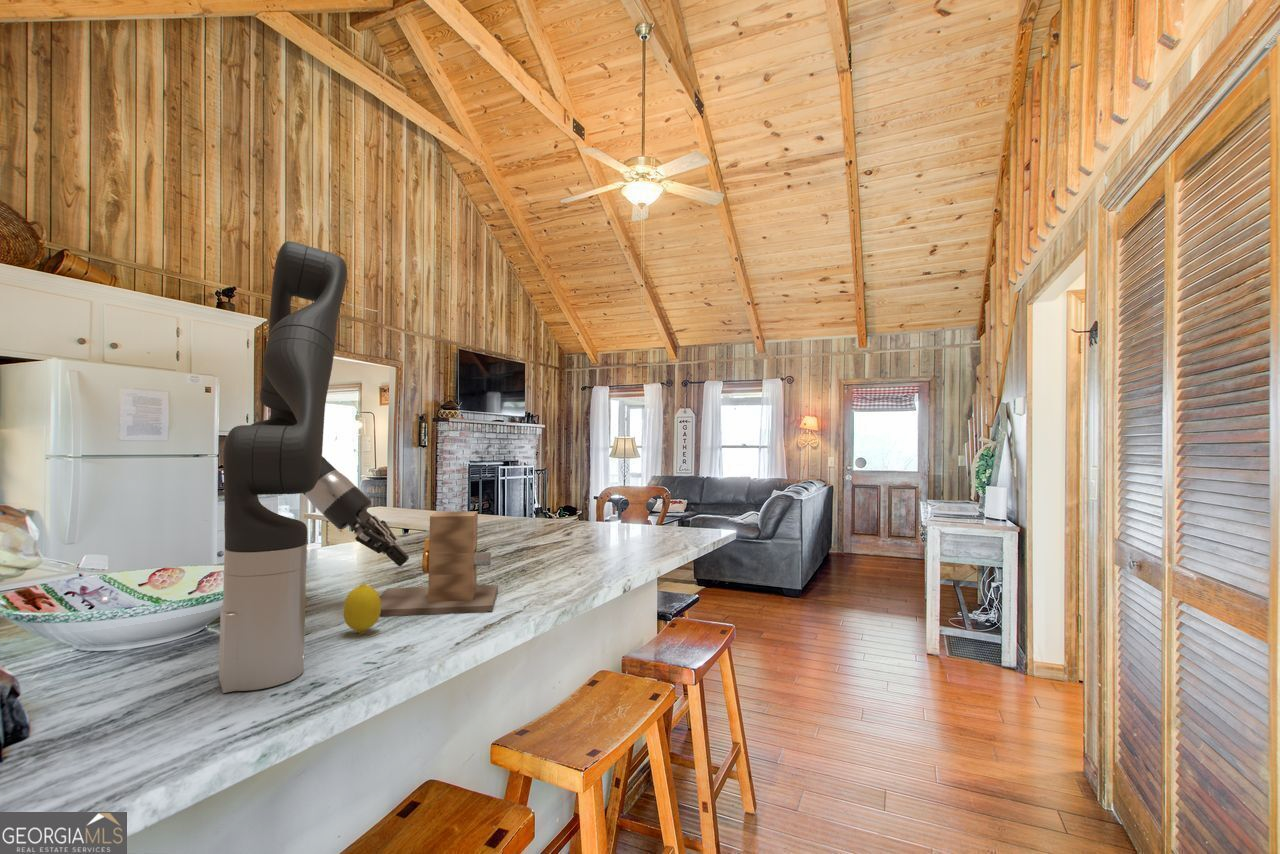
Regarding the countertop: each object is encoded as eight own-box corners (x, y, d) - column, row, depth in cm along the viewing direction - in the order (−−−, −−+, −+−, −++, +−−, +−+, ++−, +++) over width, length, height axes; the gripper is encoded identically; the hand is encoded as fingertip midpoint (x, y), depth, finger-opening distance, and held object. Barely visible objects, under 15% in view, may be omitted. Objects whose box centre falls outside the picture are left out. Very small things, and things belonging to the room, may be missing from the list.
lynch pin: (422, 575, 111) (422, 540, 111) (426, 570, 116) (427, 536, 116) (489, 573, 113) (490, 539, 113) (491, 568, 118) (492, 535, 118)
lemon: (370, 639, 92) (371, 588, 92) (335, 638, 92) (337, 587, 92) (386, 628, 98) (387, 580, 98) (353, 627, 98) (354, 579, 98)
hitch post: (365, 617, 104) (367, 520, 104) (387, 594, 119) (389, 510, 120) (492, 611, 107) (493, 518, 108) (497, 590, 123) (499, 508, 124)
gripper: (342, 488, 105) (412, 555, 107) (364, 482, 118) (426, 542, 120) (309, 517, 104) (380, 585, 106) (335, 509, 117) (398, 569, 119)
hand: (404, 562), depth 113 cm, fingers closed
